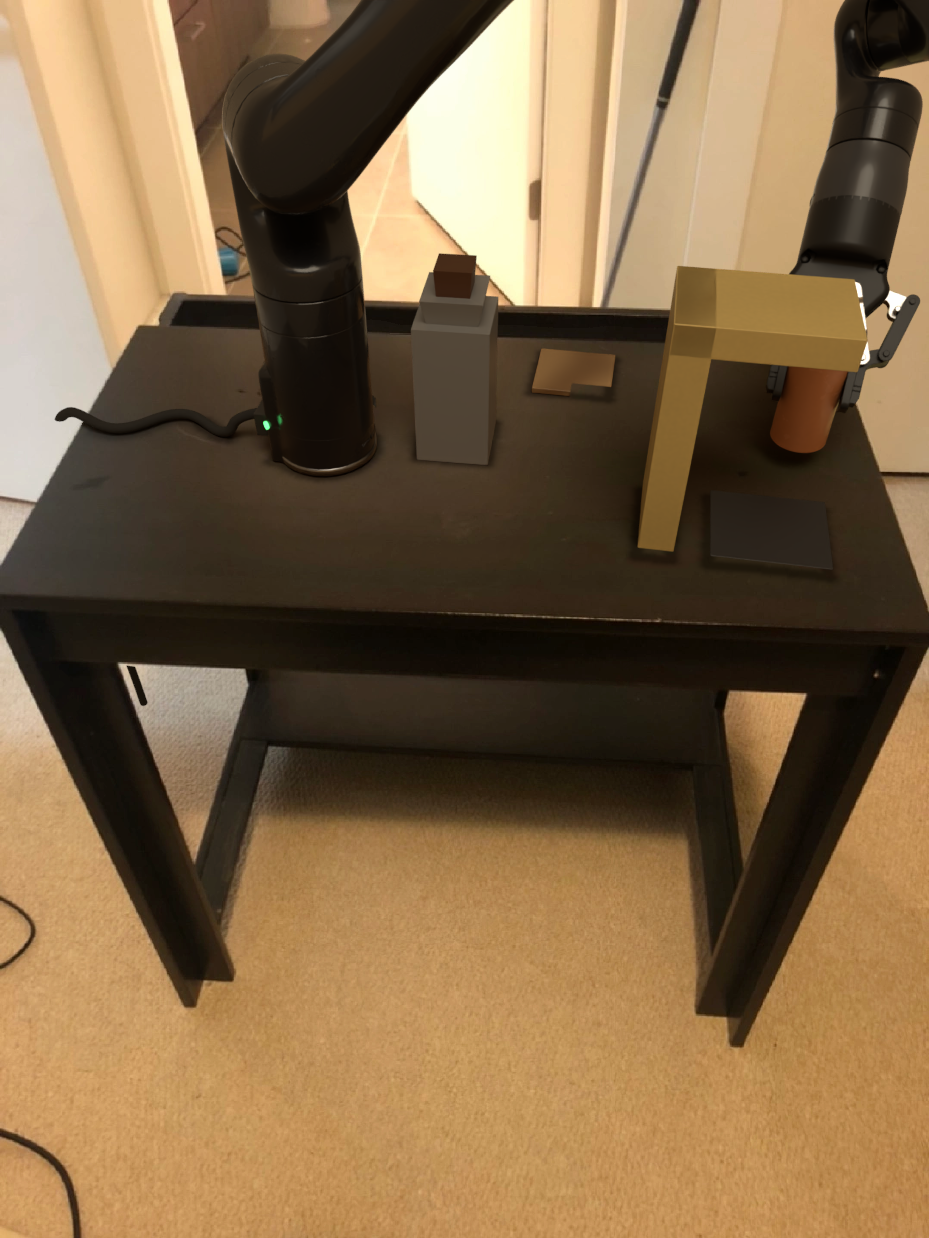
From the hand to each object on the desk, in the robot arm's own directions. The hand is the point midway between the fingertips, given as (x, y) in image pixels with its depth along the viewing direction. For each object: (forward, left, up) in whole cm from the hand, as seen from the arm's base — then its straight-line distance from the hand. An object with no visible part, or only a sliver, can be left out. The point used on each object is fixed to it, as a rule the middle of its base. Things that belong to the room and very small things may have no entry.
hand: (809, 404), depth 85 cm
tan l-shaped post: (-5, -9, -8) cm, 13 cm away
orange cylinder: (0, +2, -5) cm, 5 cm away
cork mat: (-21, +14, -8) cm, 27 cm away
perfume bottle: (-31, 0, -8) cm, 32 cm away
